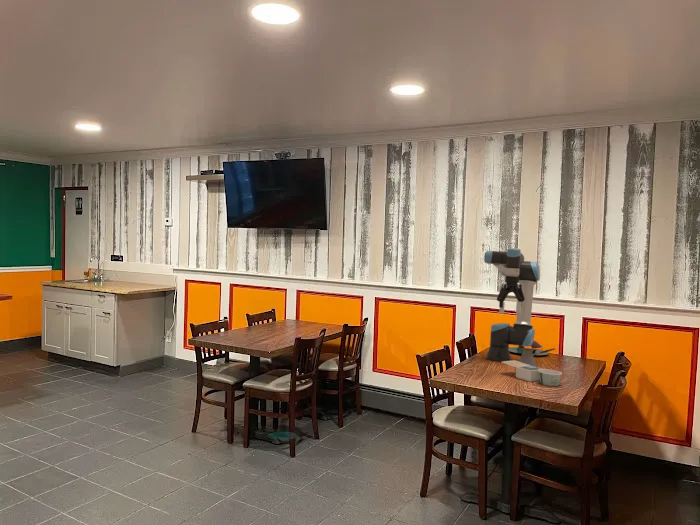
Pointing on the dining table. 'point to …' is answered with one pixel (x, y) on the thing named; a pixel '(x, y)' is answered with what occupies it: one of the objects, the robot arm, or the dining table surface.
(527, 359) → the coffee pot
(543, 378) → the food container
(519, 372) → the mailer base
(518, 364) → the lid
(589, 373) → the dining table surface
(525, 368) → the block
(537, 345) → the sailing ship model
